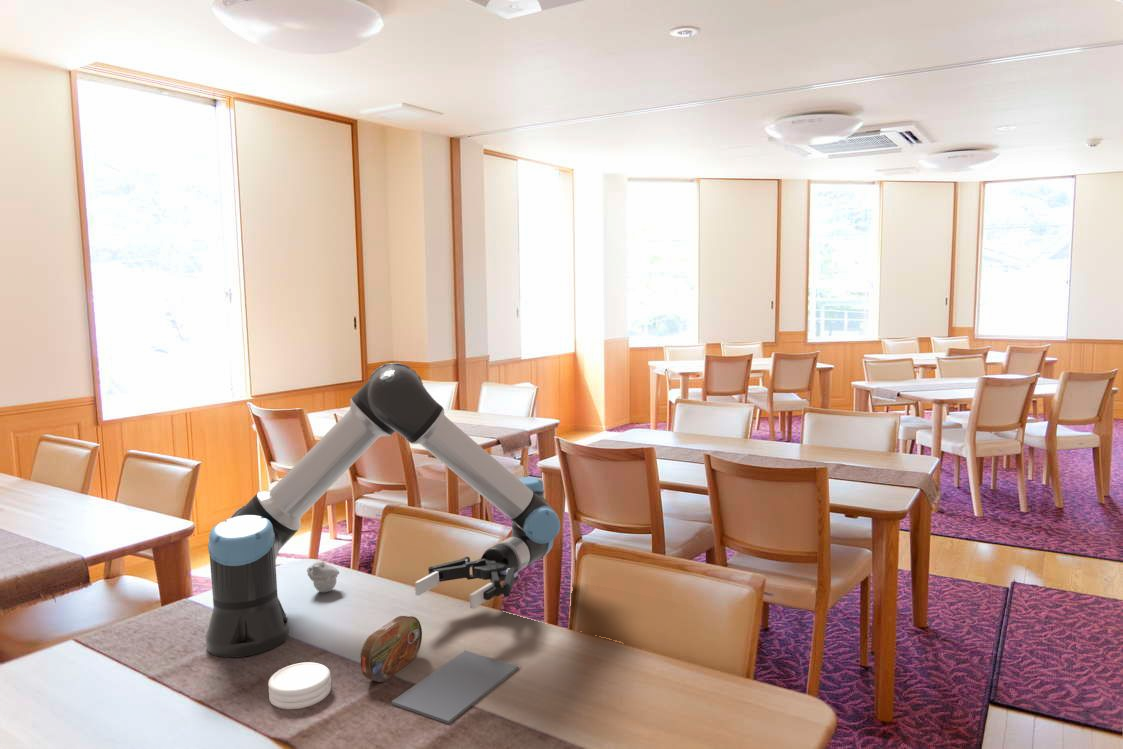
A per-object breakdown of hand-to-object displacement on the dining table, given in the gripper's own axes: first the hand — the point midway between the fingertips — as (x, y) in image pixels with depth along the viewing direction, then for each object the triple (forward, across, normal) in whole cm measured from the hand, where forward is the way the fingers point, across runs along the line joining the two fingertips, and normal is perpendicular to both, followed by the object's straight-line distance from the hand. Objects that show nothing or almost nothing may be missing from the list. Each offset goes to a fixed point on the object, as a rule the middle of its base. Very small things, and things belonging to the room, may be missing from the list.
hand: (443, 595), depth 151 cm
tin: (+15, 0, -9) cm, 17 cm away
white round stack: (+29, +8, -9) cm, 31 cm away
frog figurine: (-4, +38, -8) cm, 40 cm away
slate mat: (+14, -14, -8) cm, 21 cm away
